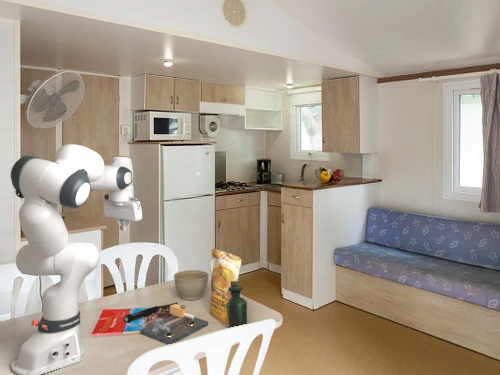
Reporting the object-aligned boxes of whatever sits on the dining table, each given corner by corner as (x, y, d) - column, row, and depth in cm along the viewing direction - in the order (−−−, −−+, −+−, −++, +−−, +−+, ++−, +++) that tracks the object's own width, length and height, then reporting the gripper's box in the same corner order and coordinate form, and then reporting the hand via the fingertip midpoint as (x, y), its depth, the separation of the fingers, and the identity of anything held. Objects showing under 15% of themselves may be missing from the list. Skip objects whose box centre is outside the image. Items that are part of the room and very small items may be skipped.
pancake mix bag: (217, 308, 182) (217, 246, 179) (242, 323, 167) (243, 256, 164) (204, 312, 178) (203, 249, 175) (229, 328, 163) (229, 258, 160)
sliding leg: (191, 323, 162) (191, 310, 161) (169, 316, 169) (169, 303, 168) (196, 321, 164) (196, 308, 164) (175, 313, 171) (175, 301, 171)
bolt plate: (169, 345, 148) (169, 329, 147) (140, 333, 157) (139, 318, 156) (208, 325, 165) (208, 310, 164) (179, 315, 174) (179, 302, 174)
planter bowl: (215, 297, 196) (215, 275, 195) (186, 306, 185) (186, 282, 184) (195, 288, 207) (195, 267, 206) (167, 296, 196) (167, 274, 195)
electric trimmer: (160, 313, 177) (160, 306, 177) (127, 324, 166) (127, 316, 166) (155, 311, 180) (155, 304, 179) (122, 321, 168) (122, 314, 168)
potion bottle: (251, 326, 162) (247, 279, 165) (245, 330, 154) (241, 281, 158) (232, 327, 164) (228, 281, 168) (224, 330, 157) (221, 282, 160)
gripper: (145, 197, 163) (146, 231, 165) (113, 193, 175) (114, 225, 176) (132, 199, 158) (133, 234, 159) (100, 195, 170) (101, 228, 171)
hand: (123, 229), depth 168 cm, fingers closed
